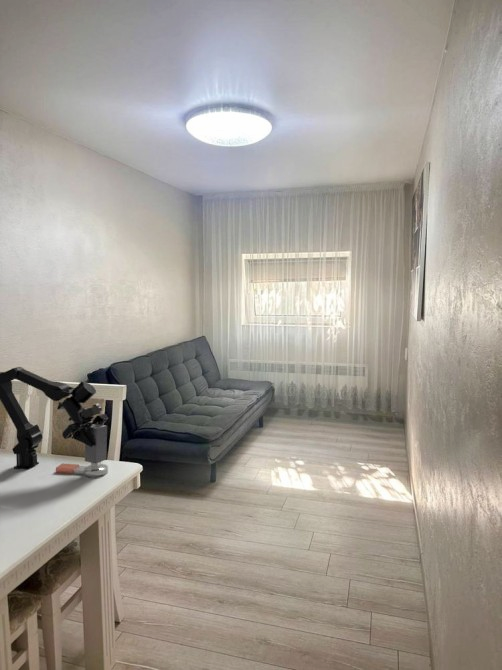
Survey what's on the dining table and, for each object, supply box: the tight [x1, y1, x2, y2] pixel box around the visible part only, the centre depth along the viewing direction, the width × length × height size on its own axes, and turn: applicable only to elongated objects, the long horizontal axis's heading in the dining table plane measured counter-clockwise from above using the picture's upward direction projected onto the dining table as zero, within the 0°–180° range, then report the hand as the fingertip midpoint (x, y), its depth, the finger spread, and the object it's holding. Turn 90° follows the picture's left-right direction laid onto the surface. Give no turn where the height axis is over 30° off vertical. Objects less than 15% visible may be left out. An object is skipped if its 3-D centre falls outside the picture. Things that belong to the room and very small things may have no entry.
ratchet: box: [55, 461, 109, 479], centre depth 165 cm, size 19×8×4 cm, turn 82°
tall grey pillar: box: [84, 424, 108, 464], centre depth 164 cm, size 5×5×13 cm
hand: (98, 443), depth 163 cm, fingers closed on tall grey pillar, 6 cm apart
